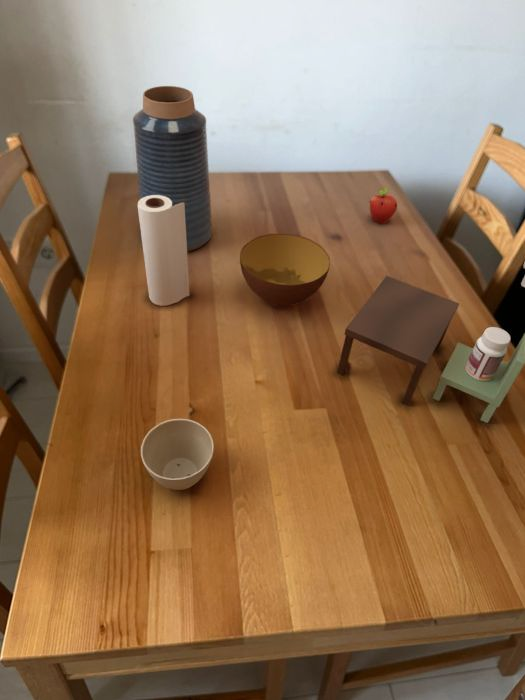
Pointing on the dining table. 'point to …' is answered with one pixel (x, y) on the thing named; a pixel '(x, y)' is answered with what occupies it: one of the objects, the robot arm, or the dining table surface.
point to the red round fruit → (382, 207)
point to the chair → (483, 390)
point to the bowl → (284, 268)
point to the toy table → (401, 326)
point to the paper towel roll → (164, 249)
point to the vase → (175, 156)
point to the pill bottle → (488, 354)
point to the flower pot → (177, 453)
